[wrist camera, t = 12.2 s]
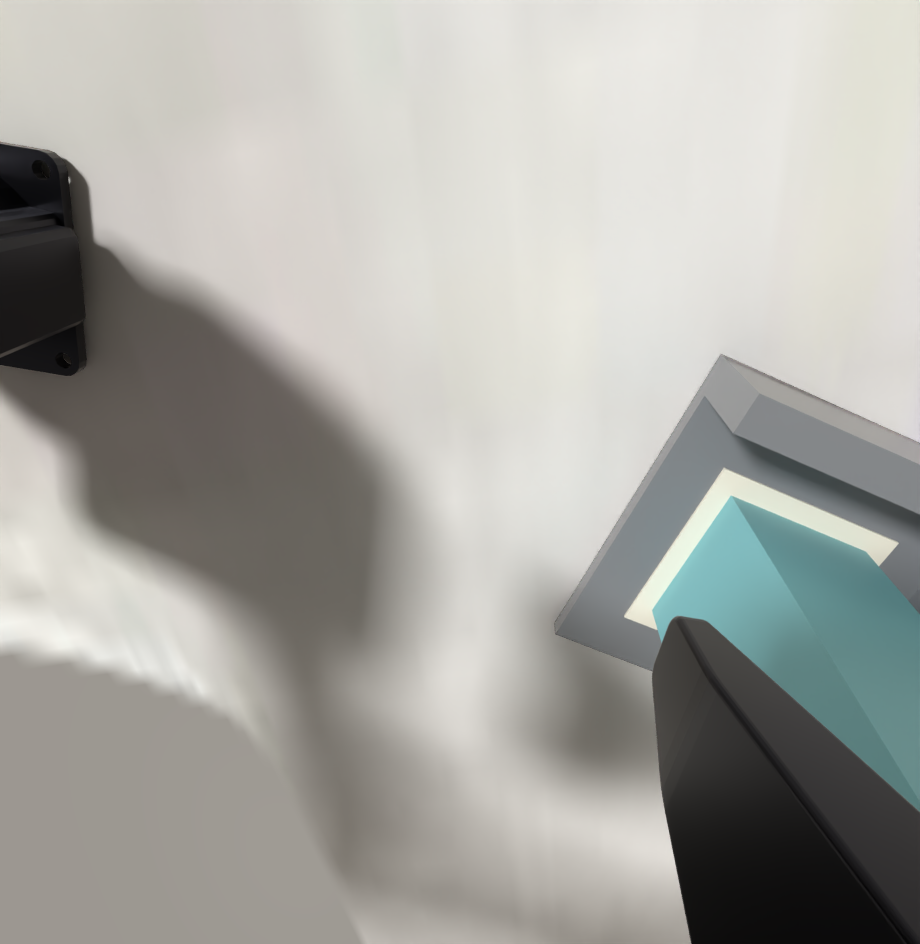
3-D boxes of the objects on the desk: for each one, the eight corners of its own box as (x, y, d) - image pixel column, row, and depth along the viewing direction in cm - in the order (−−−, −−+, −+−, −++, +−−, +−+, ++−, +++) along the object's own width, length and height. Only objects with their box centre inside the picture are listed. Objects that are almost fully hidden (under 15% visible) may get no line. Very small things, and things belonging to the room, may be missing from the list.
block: (652, 610, 24) (777, 1035, 12) (730, 495, 21) (970, 884, 10) (776, 659, 24) (1005, 1108, 13) (866, 551, 22) (1233, 979, 11)
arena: (554, 623, 25) (560, 693, 22) (721, 354, 20) (759, 393, 17) (814, 723, 26) (855, 803, 23) (1030, 492, 21) (1119, 553, 18)
